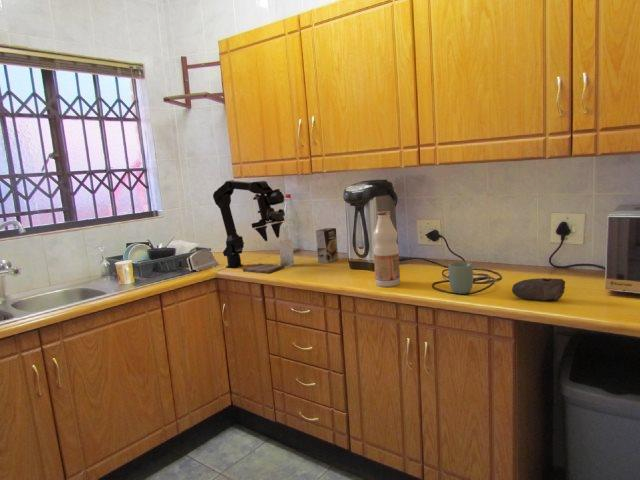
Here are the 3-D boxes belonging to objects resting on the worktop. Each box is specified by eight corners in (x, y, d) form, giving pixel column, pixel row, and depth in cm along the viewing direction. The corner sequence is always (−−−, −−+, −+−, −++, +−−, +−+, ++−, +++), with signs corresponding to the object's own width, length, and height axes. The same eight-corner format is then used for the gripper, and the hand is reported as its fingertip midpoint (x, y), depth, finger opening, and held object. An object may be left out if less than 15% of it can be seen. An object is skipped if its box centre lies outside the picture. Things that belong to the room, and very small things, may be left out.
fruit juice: (378, 288, 167) (373, 214, 163) (373, 282, 177) (368, 211, 172) (403, 285, 168) (399, 211, 164) (396, 279, 177) (392, 209, 173)
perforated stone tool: (511, 300, 142) (510, 279, 140) (512, 295, 146) (512, 275, 145) (565, 304, 134) (565, 281, 133) (565, 299, 139) (565, 277, 138)
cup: (467, 296, 149) (467, 267, 147) (445, 294, 154) (444, 265, 152) (477, 290, 154) (476, 262, 153) (455, 288, 159) (454, 260, 158)
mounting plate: (242, 271, 216) (242, 269, 216) (259, 265, 226) (259, 263, 226) (267, 273, 207) (267, 271, 207) (284, 267, 216) (284, 265, 216)
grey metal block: (197, 271, 224) (189, 253, 224) (190, 274, 226) (183, 256, 226) (219, 264, 238) (212, 247, 238) (213, 267, 241) (206, 249, 241)
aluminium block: (281, 266, 219) (278, 240, 217) (284, 264, 224) (282, 239, 222) (290, 266, 218) (288, 240, 216) (294, 264, 223) (291, 238, 221)
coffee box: (328, 263, 219) (325, 230, 216) (317, 262, 223) (315, 230, 220) (338, 259, 226) (336, 227, 223) (328, 258, 230) (326, 227, 227)
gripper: (266, 206, 200) (273, 240, 201) (289, 202, 216) (296, 233, 217) (247, 210, 206) (255, 243, 207) (271, 206, 222) (278, 236, 223)
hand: (272, 239), depth 214 cm, fingers open, 9 cm apart
